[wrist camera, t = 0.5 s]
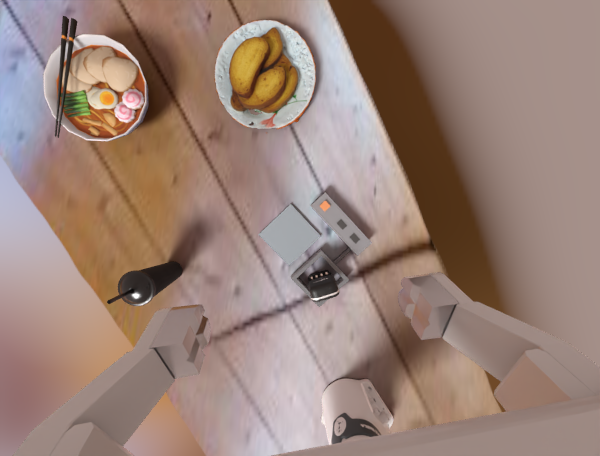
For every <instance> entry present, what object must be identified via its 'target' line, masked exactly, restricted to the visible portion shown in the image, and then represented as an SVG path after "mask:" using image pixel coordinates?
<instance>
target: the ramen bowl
mask: <svg viewBox="0 0 600 456" xmlns="http://www.w3.org/2000/svg"><path fill="white" fill-rule="evenodd" d="M68 23H69V19H68V18H67V17H65V16H63V22H62V38H61V44H60V46H59V47H58V48H57V49H56V50H55V51H54V52H53V53H52V54H51V55H50V57H49V60H48V63H47V65H46V68H45V71H44V74H43V80H44V96H45V98H46V101H47V103H48V105H49V108H50V110H51V112H52V114H53V116H54V117H55V118H56V130H55V137H56V135H57V125H58V121H59V129H58V138H59V133H60V126H61V124H62V125H63V126H64V127H65V128H66V129H67V130H68V131H69V132H71V133H73V134H75V135H77V136H79V137H82V138H84V139H86V140H96V141H110V140H114V139H117V138H119V137H122V136H125V135H128V134H130V133H132V132H133V131H134V130H135V129H136V128H137V127H138V126H139V125H140V124H141V123H142V122H143V119H144V117H145V114H146V112H147V109H148V85H147V83H146V80H145V78H144V75H143V72H142V70H141V67H140V65H139V62H138V60H137V59H136V58H135V57H134V56H133V55H132V54H131V53H130V52H129V51H128V50H127V48H126V47H125V46H124V45H123V44H121V43H119V42H117V41H115V40H113V39H111V38H109V37H107V36H105V35H96V34H81V35H78V36H76V37H75V33H76V26H77V21H76V20H75V19H73V18H71V26H70V34H69V39H67V33H68ZM66 39H67V40H66Z"/></svg>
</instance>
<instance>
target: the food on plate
mask: <svg viewBox="0 0 600 456" xmlns="http://www.w3.org/2000/svg"><path fill="white" fill-rule="evenodd" d="M315 67H316V66H315V62H314V59H313V54H312V52H311V50H310V48H309V46H308V45H307V44H306V42H305V40H304V39H303V38H301V36H300V35H299V33H298V32H297V31H294V30H292V29H291V28H290V27H289V26H287V25H286V26H284V25H283V24H282V23H280V22H278V21H273V20H268V21H267V20H256V21H252V22H249V23H247V24H244V25H242V26H240V27H239V28H237V29H236V30H234V31H233V32H232V33H231V34H230V35H229V36H228V37H227V38H226V39H225V41H224V42H223V44H222V46H221V47H220V48H219V52H218V55H217V60H216V63H215V79H214V80H215V82H216V87H217V92H218V96H219V98H220V100H221V104H222V105H224V106H225V108H226V110H227V111H228V112H229V114H230V115H231V116H232V118H233V119H234V120H237V122H238V123H240V124H241V125H243V126H245V127H252V128H258V129H261V128H264V129H265V128H276V127H277V129H279V128H283V127H285V126H288V125H289V124H290V125H291V124H292V123H293V122H295V121H296V122H298V121H299V120H298V119H299V118H300V116H301V115H302V114H303V113H304V111H305V109H306V108H307V107H308V105H309V103H310V101H311V99H312V95H313V93H314V88H315V81H316V75H315ZM250 109H254V110H255V112H256V111H258V112H259V113H260V112H263V114H259V115H254V114H250V112H248V110H250ZM251 122H253V123H254V125H252V126H249V124H250V123H251Z"/></svg>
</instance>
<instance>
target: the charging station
mask: <svg viewBox="0 0 600 456" xmlns="http://www.w3.org/2000/svg"><path fill="white" fill-rule="evenodd" d="M311 207H312V208H313V209H314V210H315V211H316V213H317V214H318V215H319V216H320V217H321V218H322V219H323V220H324V221H325V222H326V223H327V224H328V225H329V226H330V228H331V229H332V230H333V231H334V232H335V233H336V234H337V235H338V236H339V237H340V238H341V239H342V240H343V241H344V243H345V244H346V245H347V246H348V248H347V249H346V250H345V251H344V252H343V253H342V254H341V255H340V256H339V257H338V258H337V259H335V260H334V261H332V260H331V259H330V258H329V257H328V256H327V255H326V254H325V253H324V252H323V251H322V250H321V249H320V250H318V251H317V252H316V253H315V254H314V255H313V256H312V257H311V258H310V259H309V260H308V261H307V262H305V263H304V264H303V265H302V266H301V267H300V268H299V269H298V270H297V271H296V272H295V273H294V274H293V275H291V279H292V280H293V281H294V282H295V283H296V284H297V285H298V286H299V287H300V288H301V289H302V290H303V291H304V292H305V293H306V294H307V295H308V296H309V297H310V298H311V296H310V292H309V288H308V287H307V286H306V285H305V284H304V283H303V282H302V281H301V280H300V279H299V278H298V277H299V276H300V275H301V274H302V273H303V272H304V271H305V270H306V269H307V268H309V267H310V266H311V265H312V264H313V263H314V262H315V261H316V260H317V259H318V258H319V257H320V256H322V257H323V258H324V259H325V260H326V261H327V262H328V263H329V264H330V266H331V267H332V268H333V269H334V270H335V271H336V272H337V273H338V274H339V275H340V276H341V278H340V279H339V280H338V281H337V282H336V283H337V286H338V288H339V289H340V288H341V287H342V286H343V285H344V284H345V283H346V282H347V281H349V279H348V277H347V276H346V275H345V274H344V273H343V272H342V271H341V270H340V269H339V268H338V267H337V266H336V265H335V264H337V263H338V262H339V261H340V260H341V259H342V258H343V257H344V256H345V255H346V254H347V253H349V252H350V251H351V250H352V251H353V252H354V253H355V254H356V255H357V256H358V255H359V254H360V253H361V252H362V251H364V250H365V249H366V248H367V247H368V246H369V245H370V244H371V243H372V242H371V241H370V240H369V239H368V238H367V237H366V236H365V235H364V234H363V233H362V232H361V230H360V229H359V228H358V227H357V226H356V225H355V224H354V223H353V222H352V221H351V220H350V218H349V217H348V216H347V215H346V214H345V213H344V212H343V211H342V210H341V209H340V208H339V207H338V205H337V204H336V203H335V202H334V201H333V200H332V199H331V198H330V197H329V196H328V195H327V193H326V192H325V193H323V194H322V195H321V196H320V197H319V198H318V199H317V200H316V201H315V202H314V203H313V204H312V205H311ZM327 300H328V299H326V300H323V301H320V302H315V303H316V304H317V305H318V306H319V307H320V306H321V305H322V304H323V303H324V302H325V301H327Z"/></svg>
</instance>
